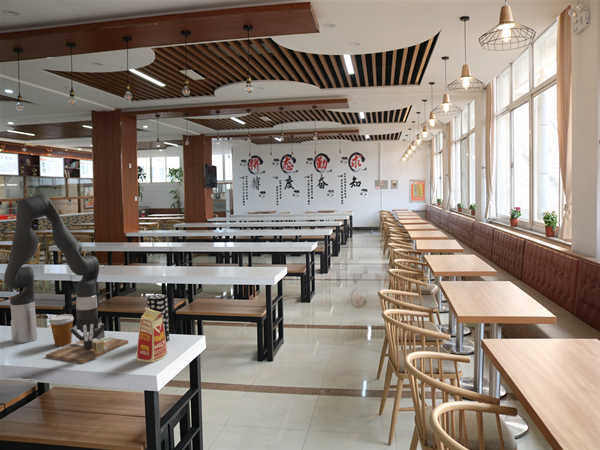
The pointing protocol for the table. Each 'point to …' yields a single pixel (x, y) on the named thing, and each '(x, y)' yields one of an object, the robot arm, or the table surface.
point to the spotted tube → (160, 309)
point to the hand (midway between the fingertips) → (88, 349)
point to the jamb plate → (81, 355)
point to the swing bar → (97, 344)
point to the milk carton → (151, 337)
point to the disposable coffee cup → (62, 329)
